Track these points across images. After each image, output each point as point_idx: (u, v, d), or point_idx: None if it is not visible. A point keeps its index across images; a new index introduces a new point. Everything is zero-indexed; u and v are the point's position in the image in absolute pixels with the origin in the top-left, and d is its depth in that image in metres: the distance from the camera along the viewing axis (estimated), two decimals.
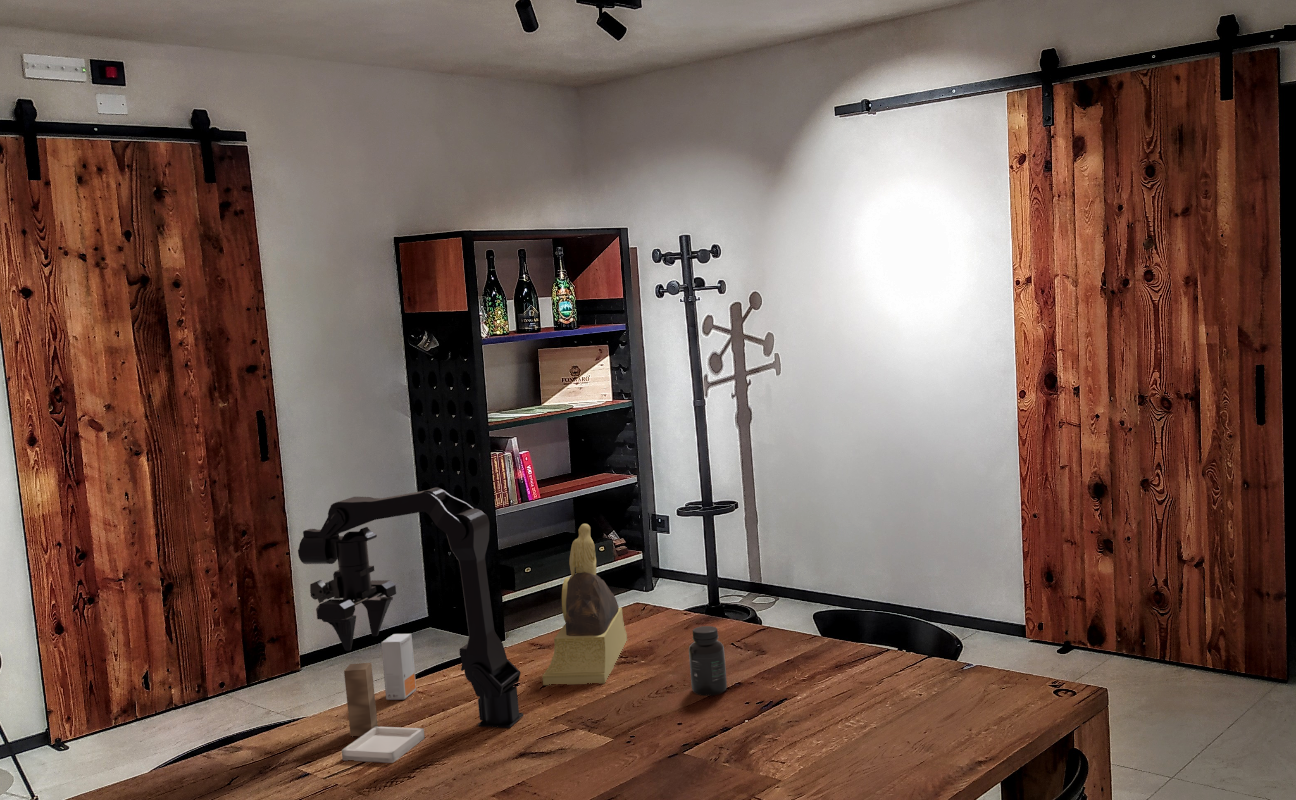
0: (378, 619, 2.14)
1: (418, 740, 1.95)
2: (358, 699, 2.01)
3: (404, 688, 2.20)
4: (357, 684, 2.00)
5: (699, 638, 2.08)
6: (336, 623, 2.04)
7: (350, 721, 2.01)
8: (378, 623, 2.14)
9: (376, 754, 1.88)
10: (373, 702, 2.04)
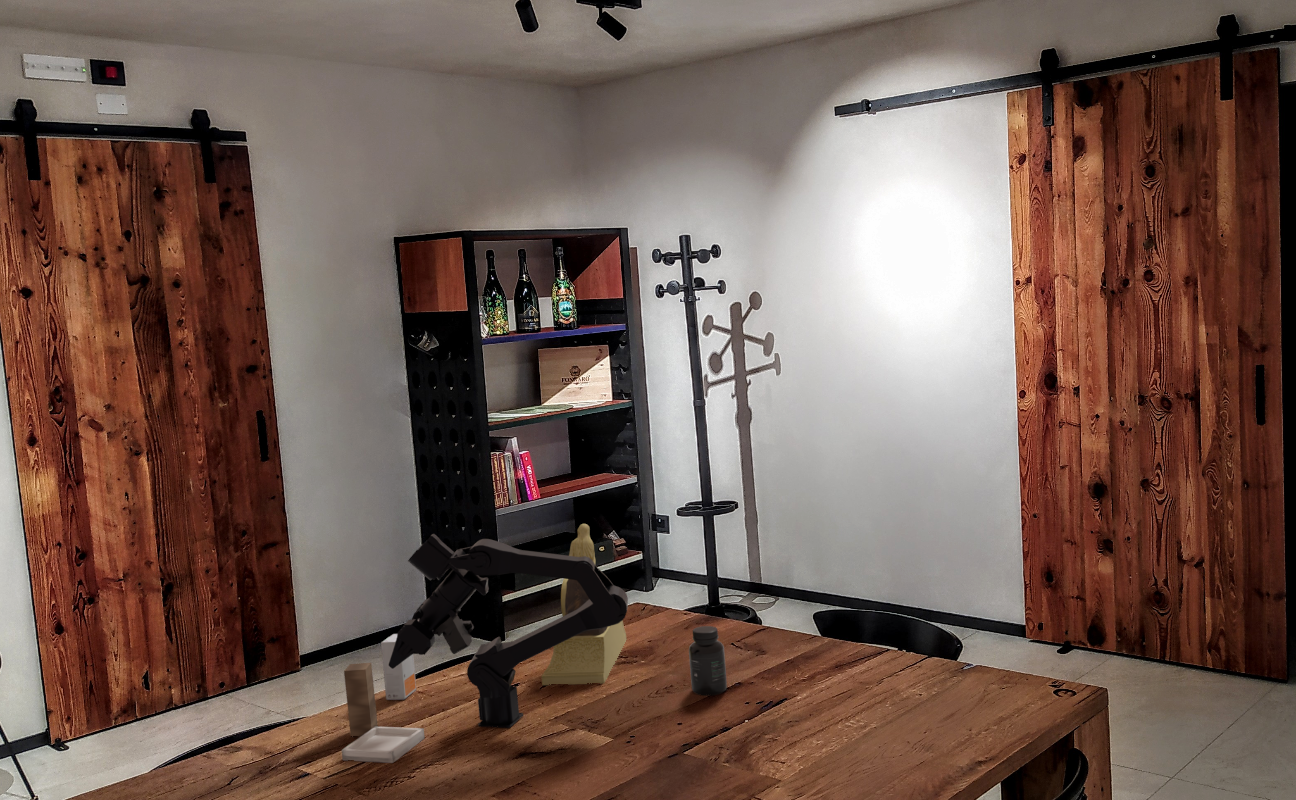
0: None
1: (418, 740, 1.95)
2: (358, 699, 2.01)
3: (404, 688, 2.20)
4: (357, 684, 2.00)
5: (699, 638, 2.08)
6: None
7: (350, 721, 2.01)
8: None
9: (376, 754, 1.88)
10: (373, 702, 2.04)
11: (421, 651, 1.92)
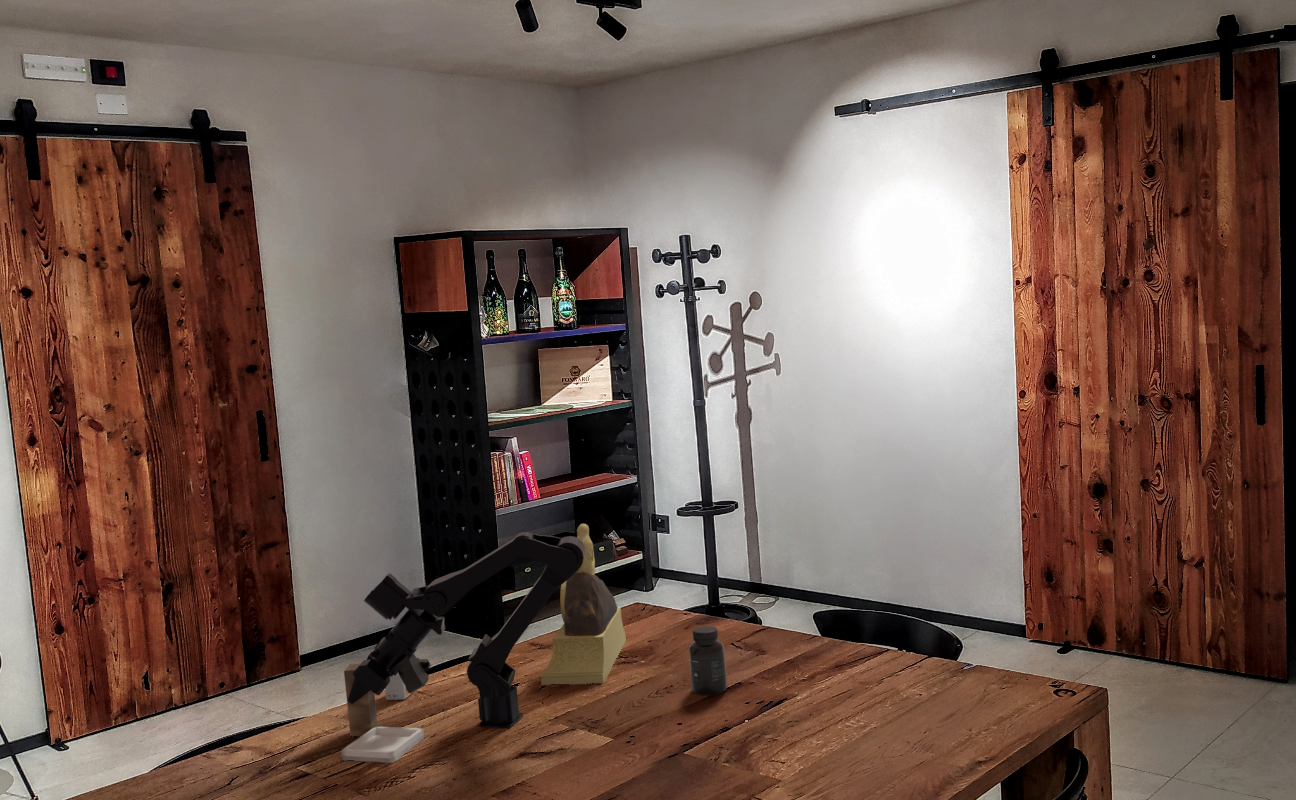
0: None
1: (418, 740, 1.95)
2: (358, 699, 2.01)
3: (404, 688, 2.20)
4: None
5: (699, 638, 2.08)
6: None
7: (350, 721, 2.01)
8: None
9: (376, 754, 1.88)
10: (373, 702, 2.04)
11: (375, 692, 1.93)
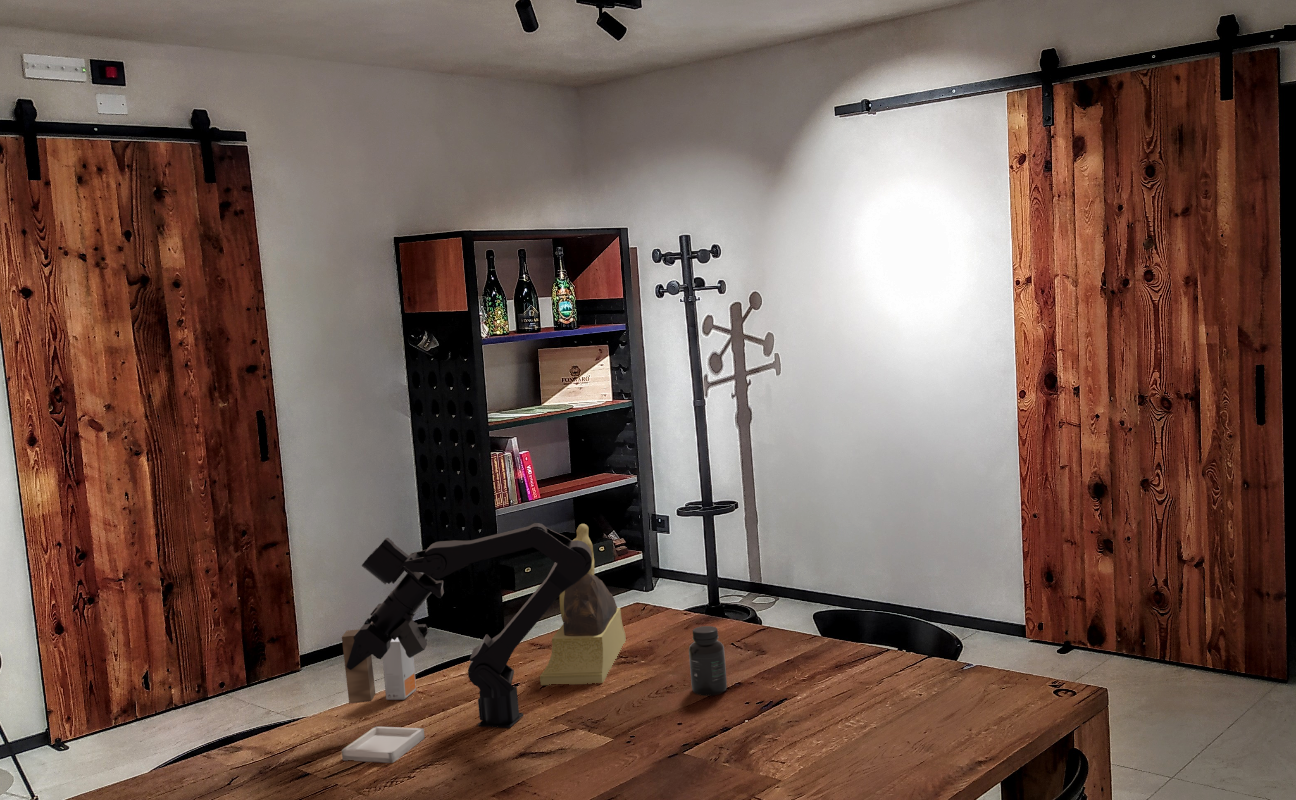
0: None
1: (418, 740, 1.95)
2: None
3: (404, 688, 2.20)
4: None
5: (699, 638, 2.08)
6: None
7: (348, 687, 1.99)
8: None
9: (376, 754, 1.88)
10: (371, 668, 2.02)
11: (377, 656, 1.91)
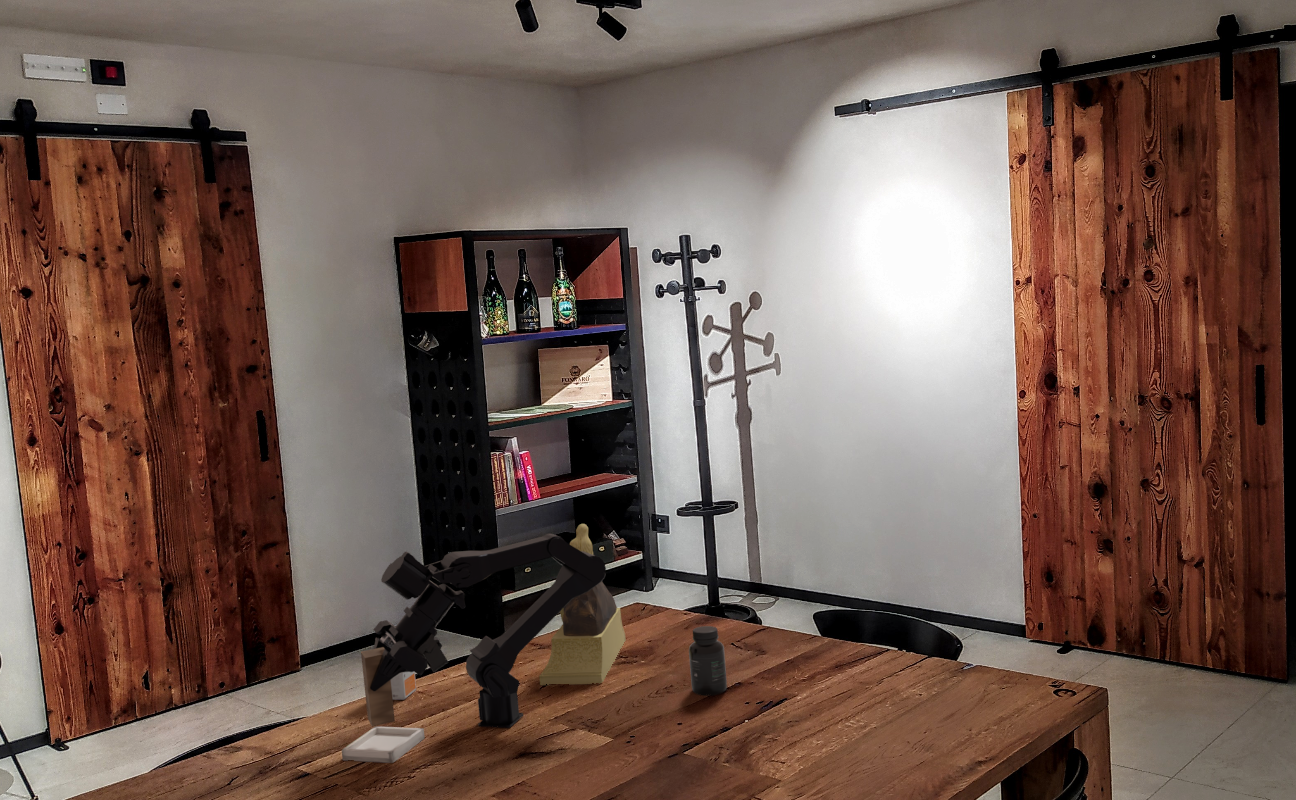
0: None
1: (418, 740, 1.95)
2: None
3: (404, 688, 2.20)
4: None
5: (699, 638, 2.08)
6: None
7: (371, 710, 1.91)
8: None
9: (376, 754, 1.88)
10: None
11: (419, 672, 1.87)
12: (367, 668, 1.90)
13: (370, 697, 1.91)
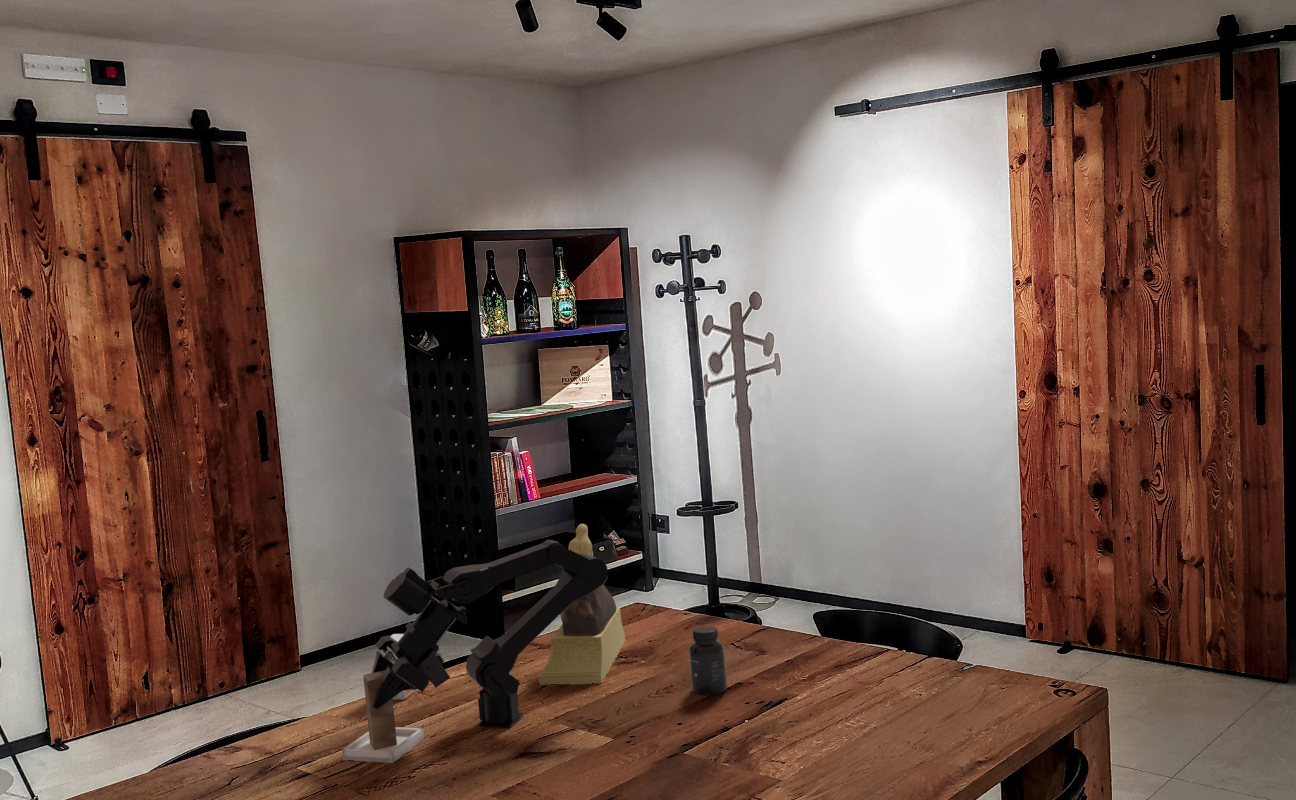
0: None
1: (418, 740, 1.95)
2: (382, 709, 1.92)
3: None
4: None
5: (699, 638, 2.08)
6: None
7: (374, 733, 1.91)
8: None
9: (376, 754, 1.88)
10: None
11: (421, 689, 1.87)
12: (369, 691, 1.91)
13: (372, 720, 1.91)
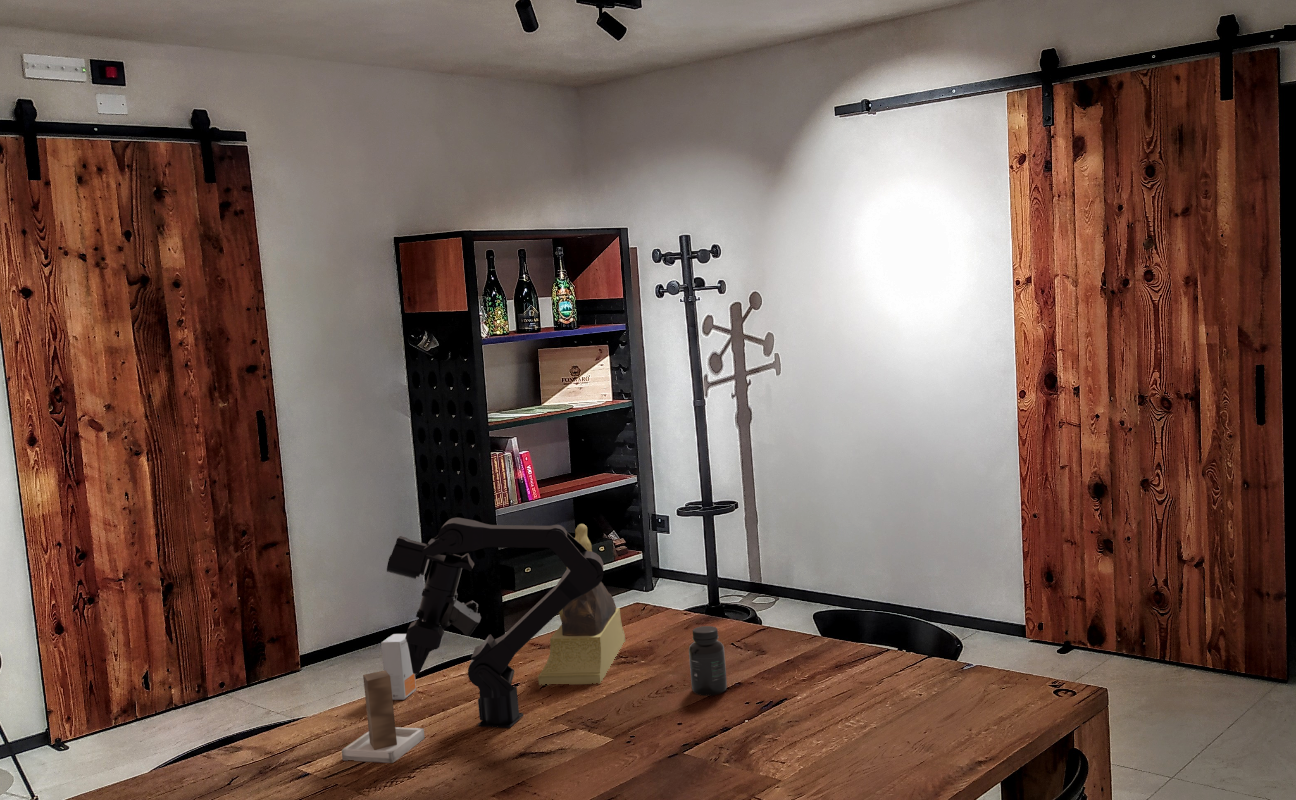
0: None
1: (418, 740, 1.95)
2: (382, 708, 1.92)
3: (404, 688, 2.20)
4: (381, 693, 1.92)
5: (699, 638, 2.08)
6: None
7: (374, 733, 1.91)
8: None
9: (376, 754, 1.88)
10: None
11: (434, 645, 1.92)
12: (369, 691, 1.91)
13: (372, 720, 1.91)
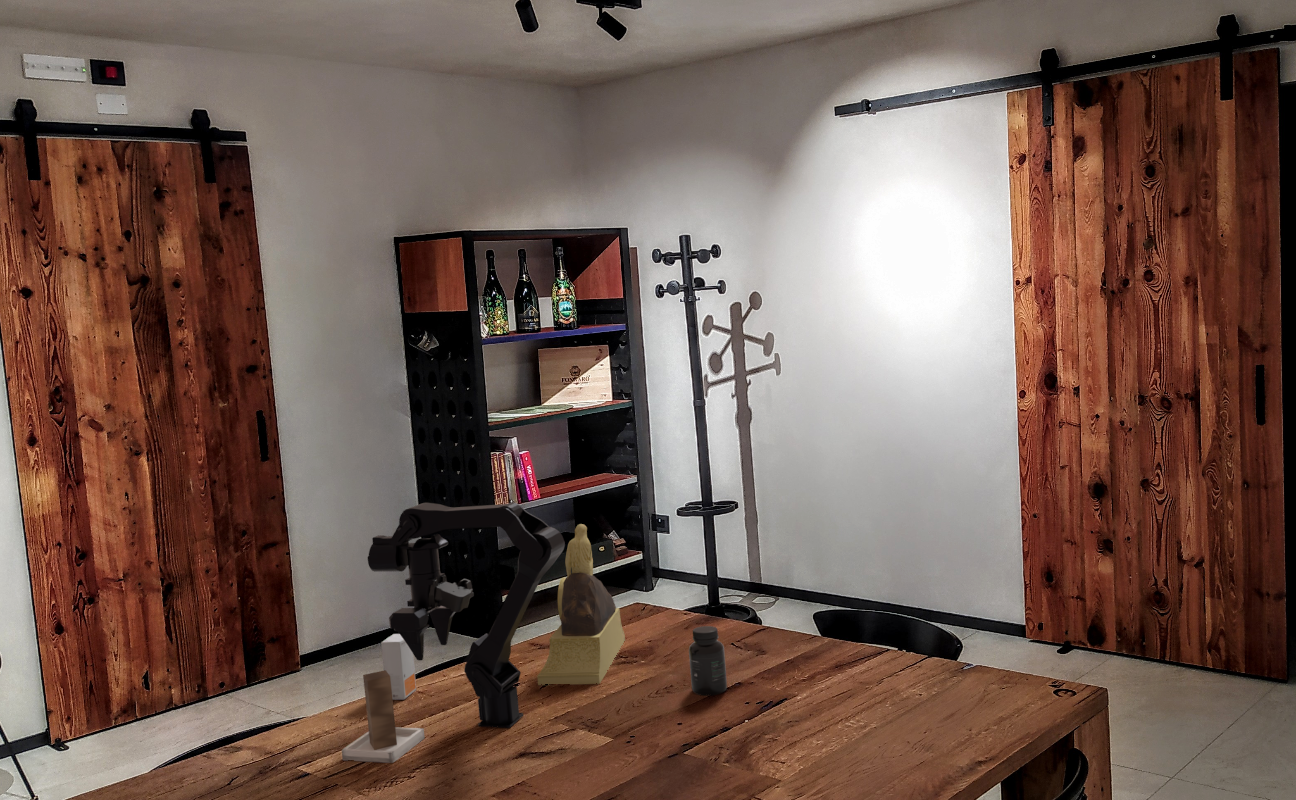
0: None
1: (418, 740, 1.95)
2: (382, 708, 1.92)
3: (404, 688, 2.20)
4: (381, 693, 1.92)
5: (699, 638, 2.08)
6: None
7: (374, 733, 1.91)
8: None
9: (376, 754, 1.88)
10: None
11: (414, 627, 1.96)
12: (369, 691, 1.91)
13: (372, 720, 1.91)
